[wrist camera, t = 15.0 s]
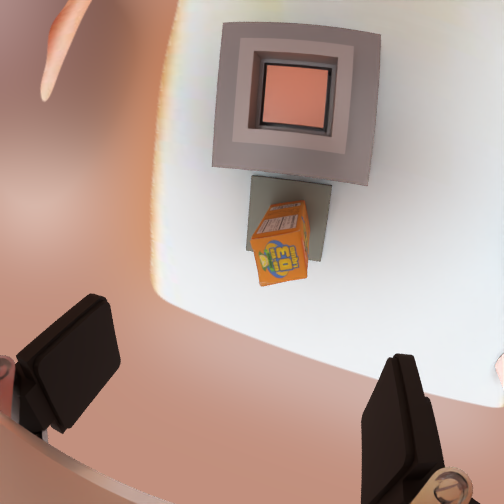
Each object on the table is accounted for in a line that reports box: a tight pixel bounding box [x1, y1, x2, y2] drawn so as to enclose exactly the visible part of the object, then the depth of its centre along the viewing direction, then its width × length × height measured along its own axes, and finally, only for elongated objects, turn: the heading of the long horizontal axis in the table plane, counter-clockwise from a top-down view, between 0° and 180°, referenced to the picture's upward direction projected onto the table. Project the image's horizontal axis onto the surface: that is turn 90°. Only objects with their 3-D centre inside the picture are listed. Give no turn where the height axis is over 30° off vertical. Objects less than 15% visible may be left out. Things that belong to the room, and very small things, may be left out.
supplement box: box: [250, 200, 310, 286], centre depth 23 cm, size 3×4×10 cm
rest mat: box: [246, 175, 332, 262], centre depth 28 cm, size 7×7×1 cm
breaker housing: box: [212, 22, 381, 186], centre depth 22 cm, size 12×12×6 cm
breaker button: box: [263, 65, 328, 129], centre depth 22 cm, size 4×4×3 cm
